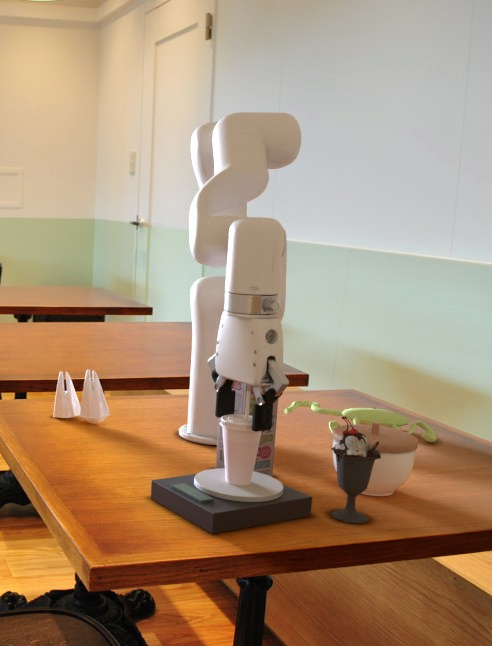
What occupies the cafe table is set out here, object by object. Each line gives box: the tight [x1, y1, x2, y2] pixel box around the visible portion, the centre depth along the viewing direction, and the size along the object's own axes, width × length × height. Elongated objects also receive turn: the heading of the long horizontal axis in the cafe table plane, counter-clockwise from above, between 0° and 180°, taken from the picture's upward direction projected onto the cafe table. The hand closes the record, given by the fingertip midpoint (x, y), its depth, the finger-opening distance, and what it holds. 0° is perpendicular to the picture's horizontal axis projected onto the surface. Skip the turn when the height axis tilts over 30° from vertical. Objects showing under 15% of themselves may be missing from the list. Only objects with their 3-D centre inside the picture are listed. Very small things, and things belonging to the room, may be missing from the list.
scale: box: [150, 468, 313, 535], centre depth 125 cm, size 18×15×4 cm
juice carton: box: [215, 381, 279, 477], centre depth 139 cm, size 7×7×22 cm
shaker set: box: [53, 369, 111, 425], centre depth 172 cm, size 12×4×11 cm, turn 53°
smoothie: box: [220, 391, 261, 486], centre depth 124 cm, size 6×6×14 cm
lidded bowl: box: [331, 422, 419, 497], centre depth 134 cm, size 13×13×11 cm
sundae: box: [330, 416, 381, 524], centre depth 121 cm, size 7×7×15 cm
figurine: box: [283, 400, 437, 443], centre depth 167 cm, size 18×27×6 cm
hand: (242, 422), depth 123 cm, fingers open, 7 cm apart
